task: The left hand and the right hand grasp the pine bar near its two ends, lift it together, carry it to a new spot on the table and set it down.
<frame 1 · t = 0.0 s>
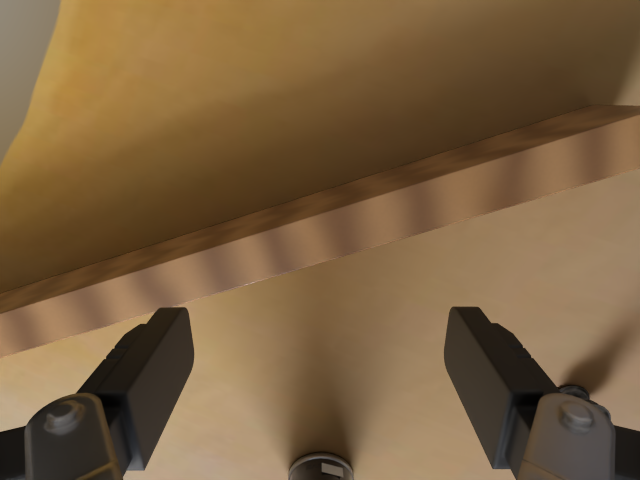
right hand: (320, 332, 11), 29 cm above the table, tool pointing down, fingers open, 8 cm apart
bar: (234, 239, 42), on the table
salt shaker: (567, 400, 50), on the table
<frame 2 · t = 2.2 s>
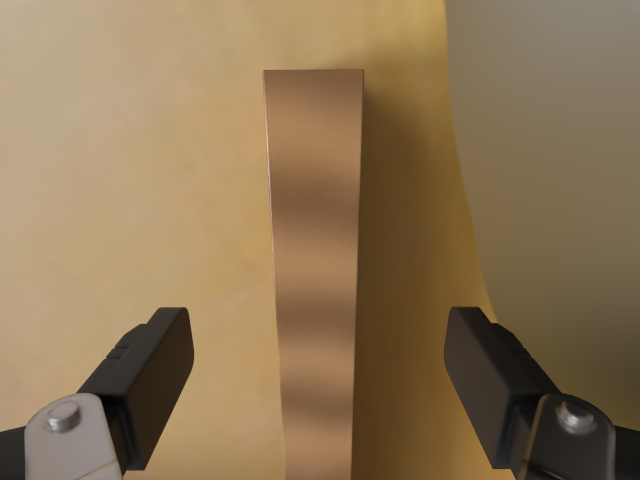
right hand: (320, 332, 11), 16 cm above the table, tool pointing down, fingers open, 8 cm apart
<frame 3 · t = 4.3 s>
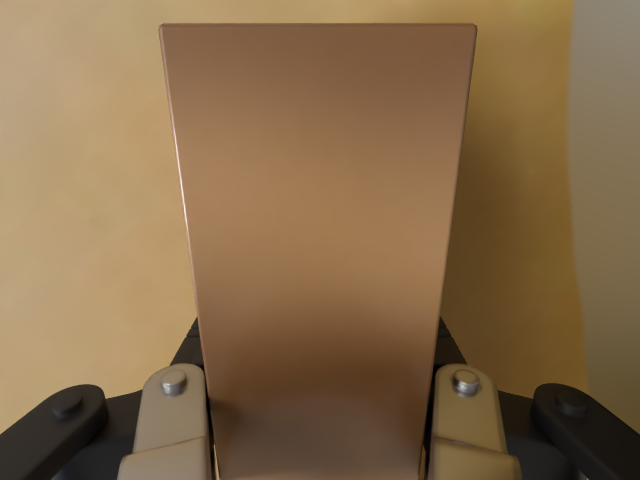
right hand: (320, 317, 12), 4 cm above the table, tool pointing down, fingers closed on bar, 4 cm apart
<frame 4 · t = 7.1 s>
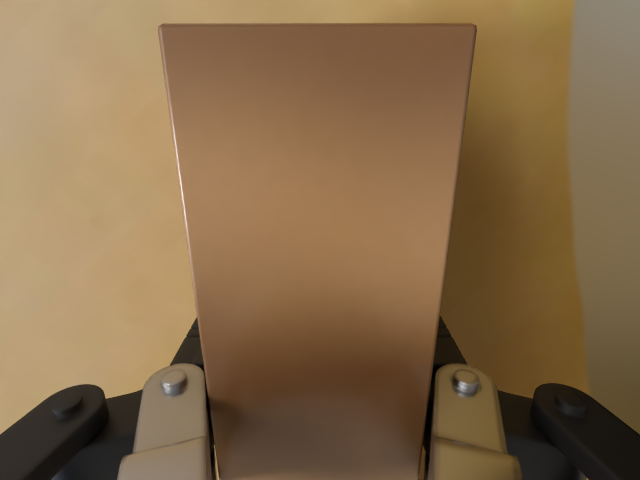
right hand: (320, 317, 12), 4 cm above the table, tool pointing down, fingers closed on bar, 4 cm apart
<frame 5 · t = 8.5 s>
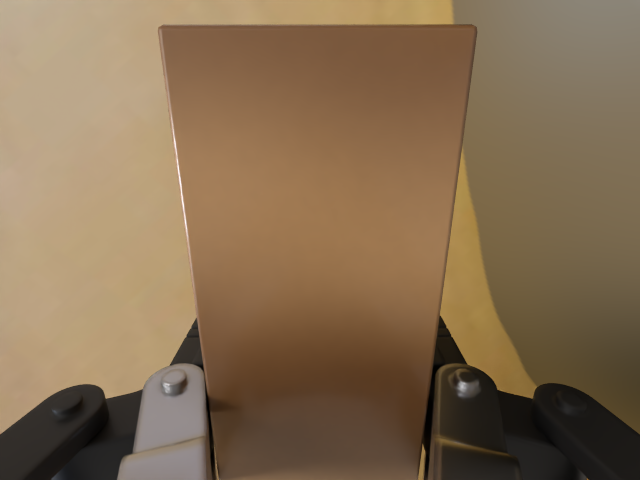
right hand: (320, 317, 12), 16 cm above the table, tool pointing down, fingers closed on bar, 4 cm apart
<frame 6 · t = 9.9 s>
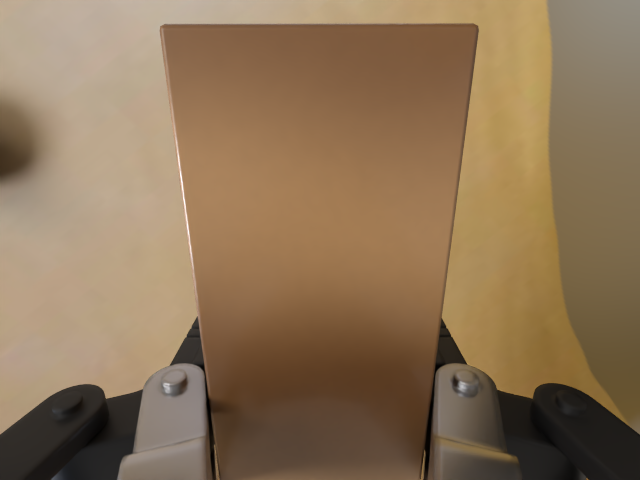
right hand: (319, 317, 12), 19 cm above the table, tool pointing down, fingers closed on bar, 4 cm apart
when the left hand's fingers open (2 cm above the table, at t = 13.0 s): bar drops 1 cm, on the table.
when the right hand's fingers open (5 cm above the table, at t = 13.2 s): bar stays where it is, on the table.
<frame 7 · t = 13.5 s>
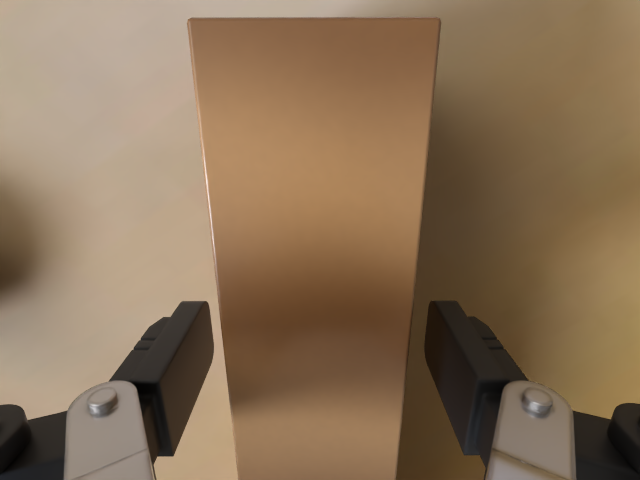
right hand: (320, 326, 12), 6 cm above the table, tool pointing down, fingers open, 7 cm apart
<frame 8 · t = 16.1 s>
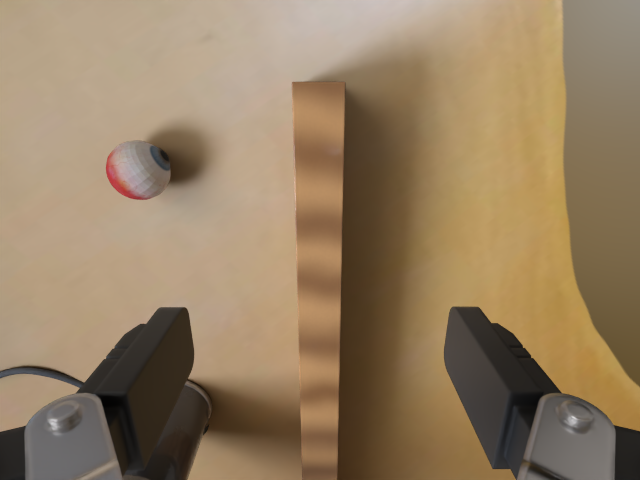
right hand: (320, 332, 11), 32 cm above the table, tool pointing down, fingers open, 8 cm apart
bar: (319, 385, 52), on the table
eyeball: (153, 164, 42), on the table
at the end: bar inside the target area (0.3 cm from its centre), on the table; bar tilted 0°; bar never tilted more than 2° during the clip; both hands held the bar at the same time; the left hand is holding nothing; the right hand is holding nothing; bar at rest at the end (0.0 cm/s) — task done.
